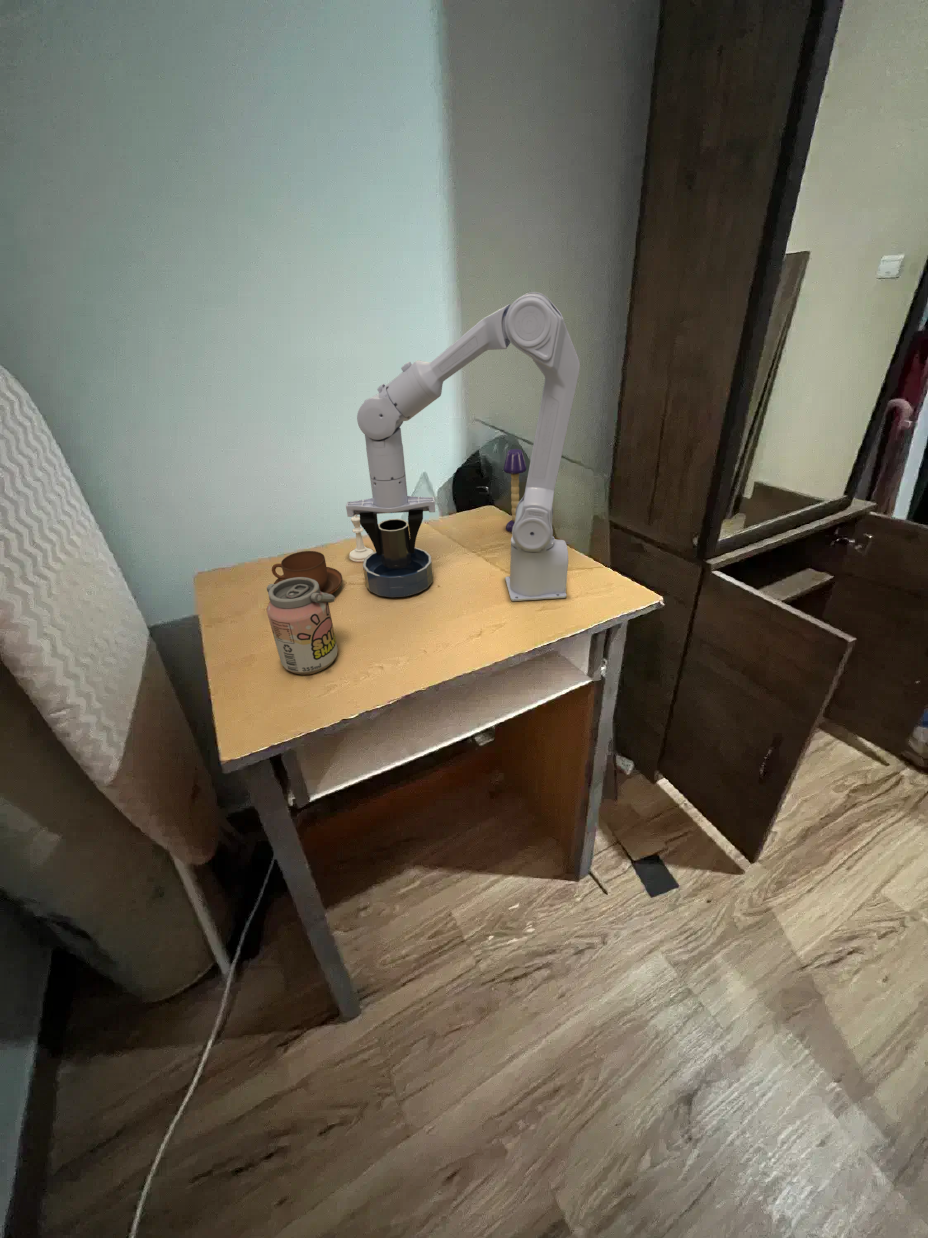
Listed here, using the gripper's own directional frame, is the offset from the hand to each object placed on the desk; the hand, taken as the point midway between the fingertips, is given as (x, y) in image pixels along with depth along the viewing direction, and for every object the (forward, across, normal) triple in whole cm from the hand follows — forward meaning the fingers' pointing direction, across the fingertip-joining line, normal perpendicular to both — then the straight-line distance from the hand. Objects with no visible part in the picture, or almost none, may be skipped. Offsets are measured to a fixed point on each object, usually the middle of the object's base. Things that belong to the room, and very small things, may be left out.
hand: (396, 551), depth 92 cm
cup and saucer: (+6, +16, +1) cm, 17 cm away
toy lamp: (+6, -24, -21) cm, 33 cm away
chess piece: (+6, +8, -12) cm, 16 cm away
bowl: (+6, 0, 0) cm, 6 cm away
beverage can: (+6, +12, +21) cm, 25 cm away
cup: (+2, 0, 0) cm, 2 cm away
